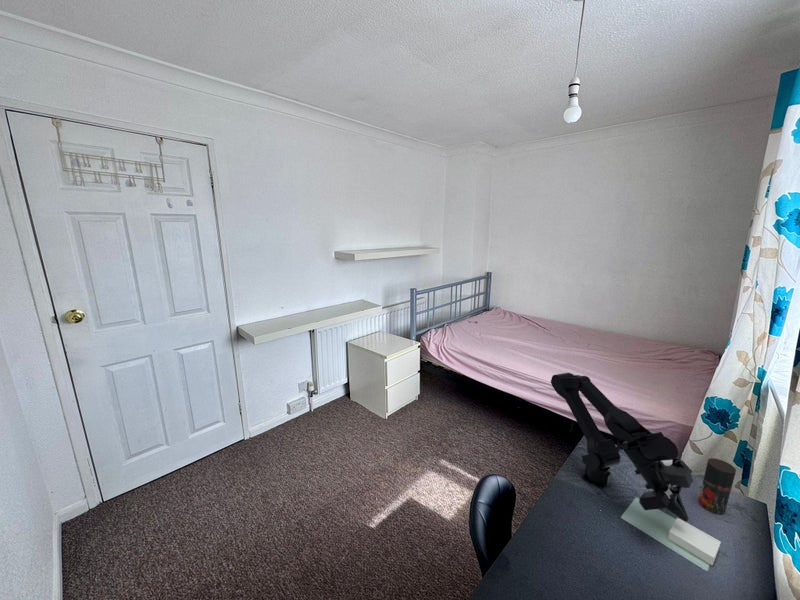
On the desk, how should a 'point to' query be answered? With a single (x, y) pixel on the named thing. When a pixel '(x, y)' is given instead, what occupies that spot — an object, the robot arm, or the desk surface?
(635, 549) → the desk surface
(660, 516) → the mat
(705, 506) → the deodorant
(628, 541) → the desk surface
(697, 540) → the block
